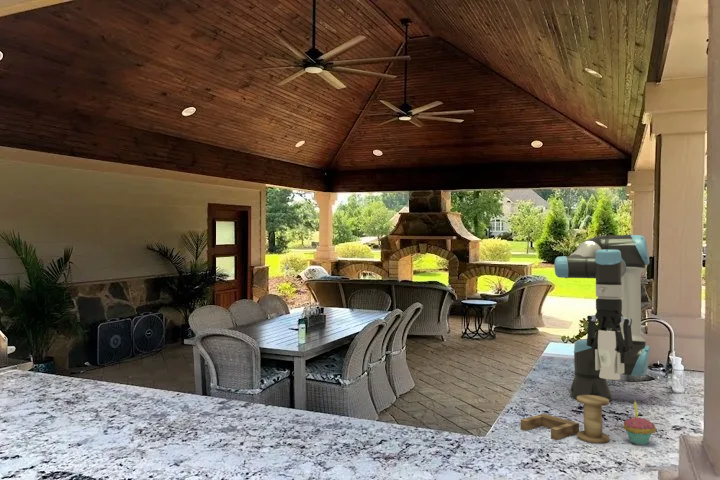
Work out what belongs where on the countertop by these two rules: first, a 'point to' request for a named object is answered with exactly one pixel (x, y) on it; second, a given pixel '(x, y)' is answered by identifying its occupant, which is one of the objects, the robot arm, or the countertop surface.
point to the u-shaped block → (551, 425)
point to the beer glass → (608, 354)
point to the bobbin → (593, 419)
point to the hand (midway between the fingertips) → (609, 371)
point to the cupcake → (639, 428)
